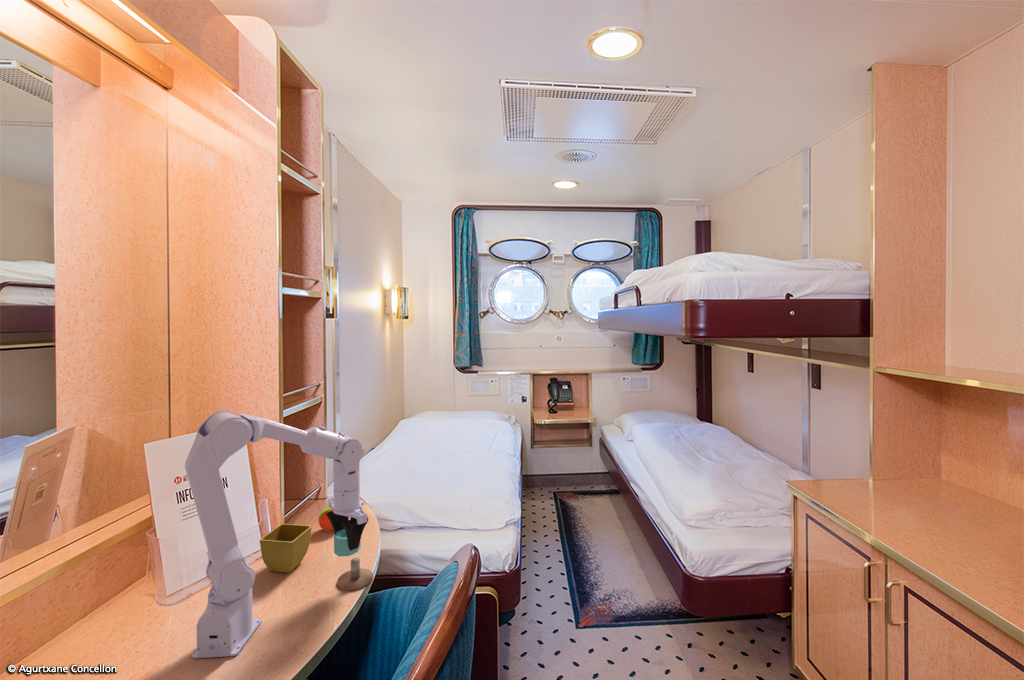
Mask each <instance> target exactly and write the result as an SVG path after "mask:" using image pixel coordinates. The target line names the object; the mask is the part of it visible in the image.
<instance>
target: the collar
mask: <svg viewBox="0 0 1024 680" xmlns="http://www.w3.org/2000/svg"><path fill="white" fill-rule="evenodd" d="M361 547H362V545H361V543H360V544H359V547H358V548H356V549H354V550H351V551H350V550H349V548H348V542H347V535H346V532H345V529H343V530H340V531H337V533H336V534H334V535H333V552H334V553H333V554H335V556H338V557H350V556H353V555H355V554H356V553H358V552H359V551H360V548H361Z"/></svg>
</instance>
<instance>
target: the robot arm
mask: <svg viewBox="0 0 1024 680" xmlns="http://www.w3.org/2000/svg"><path fill="white" fill-rule="evenodd" d="M238 415H239V416H238ZM263 439H270V440H274V441H279V442H285V443H289V444H294V445H297V446H299V447H300V449H301V451H302V453H305V454H309V455H312V456H316V457H322V458H323V459H324V458H325V459H329V460H331V459H333V471H332V473H333V497H330V498H329V499H328V503H327V504H328V507H330V508H332V511H330V512H328V513H326V516H327V517H328V519H329V520H330V522H331V525H332V527H333V530H332V531H333V534H334V535H335V534H336V533H337V531H340V530H343V529H345V532H346V535H347V542H348V548H349V550H350V551H351V550H354V549H356V548H358V547H359V544H361V541H362V540H361V539H362V535H363V532H364V530H365V528H366V525H367V524H368V522H369V517H368V513H367V512H365V510H364V508H363V506H364V505H365V501H364V500H361V496H360V495H361V494H360V493H361V492H360V490H361V489H360V488H361V487H360V482H361V481H360V461H361V460H362V458H363V457H364V453H365V449H364V448H363V446H362V443H361V442H360V440H359V439H358V440H357V439H355V438H352V437H351V436H349V435H346V434H345V433H344V432H340V431H339V432H338V433H336V432H333V431H329V430H327V427H325V426H322V425H319V426H318V427H316V426H311V427H310V428H308V429H305V430H303V429H299V428H297V427H295V426H294V427H293V426H290V425H288V424H284V423H281V422H278V421H274V420H271V419H269V418H265V417H262V416H257V415H252V414H246V413H240V412H238V413H237V414H236V413H234V412H232V411H230V410H229V411H228V410H220V411H216V412H214V413H212V414H210V415H209V416H208V417H207V418H206V419H205V420H204V421H203V422H202V423H201V424H200V425H199V426H198V427H197V430H196V436H195V439H194V441H193V444H192V445H191V448H190V450H189V453H188V455H187V456H186V457H187V458H186V460H185V462H184V469H185V473H186V476H187V479H188V480H187V481H188V484H189V487H190V490H191V494H192V497H193V501H194V505H195V508H196V512H197V515H198V519H199V523H200V526H201V530H202V534H203V537H204V541H205V544H206V548H207V553H206V554H207V558H208V559H207V560H208V562H207V565H206V569H205V570H206V571H205V575H206V578H207V579H208V580H209V581H210V583H211V584H212V585H211V587H210V588H209V592H208V594H207V604H206V608H205V610H204V612H203V614H202V615H201V616H200V618H199V619H198V621H197V622H196V650H194V652H193V653H192V655H191V657H192V658H191V659H201V658H202V659H204V658H221V657H235V656H237V655H238V654H239V653H240V651H241V650H242V649H243V648H244V647H245V645H246V644H247V642H248V641H249V639H250V638H251V637H252V635H253V634H254V633H255V631H256V630H257V628H258V627H259V626H260V624H261V623H262V621H263V619H262V618H254V617H253V615H254V614H253V586H254V583H255V582H256V581H255V580H256V573H255V571H254V568H252V567H251V566H250V565H249V564H248V563H247V561H246V559H245V556H244V554H243V551H242V548H241V546H240V544H239V541H238V538H237V534H236V530H235V526H234V522H233V518H232V514H231V510H230V507H229V503H228V499H227V495H226V492H225V488H224V485H223V481H222V477H221V476H222V475H221V473H220V468H221V467H222V466H223V465H224V463H225V462H226V461H227V460H228V459H229V458H230V457H232V456H233V455H234V454H235V453H237V452H238V451H240V450H241V449H243V448H244V447H246V445H247V444H249V442H251V443H252V444H255V443H258V442H259V441H261V440H263Z"/></svg>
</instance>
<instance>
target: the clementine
mask: <svg viewBox="0 0 1024 680" xmlns="http://www.w3.org/2000/svg"><path fill="white" fill-rule="evenodd" d="M330 511H332V508H330V507H329V506H328V507H325V508H324V509H323V510H322V511H321V512H320V514H319V515H318V518H317V520H318V525H319V526H320V528H321V529H322V530H324V531H327V532H333V531H334V530H333V527H332V525H331V522H330V520H329V519H328V517H327V516H326V513H328V512H330Z"/></svg>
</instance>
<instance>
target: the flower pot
mask: <svg viewBox="0 0 1024 680" xmlns="http://www.w3.org/2000/svg"><path fill="white" fill-rule="evenodd" d="M312 529H313V526H312V525H307V524H306V525H305V524H293V523H292V524H291V523H281V524H279V525H278V526H276V527H275V528H273V529H272V530H271V531H269V532H268V533H266V534H265V535H263V536H262V537H261V538H260V539H259V544H260V552H261V558H262V560H263V564H264V565H265V566H266V568H267V569H268V570H270V571H271V572H276V573H291V572H292V571H293V570H294V569H295V568H296V567H297V566H298V565H300V564H302V561H303V560H304V558H305V556H306V554H307V552H308V550H309V546H310V542H311V536H312V531H313V530H312Z"/></svg>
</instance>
